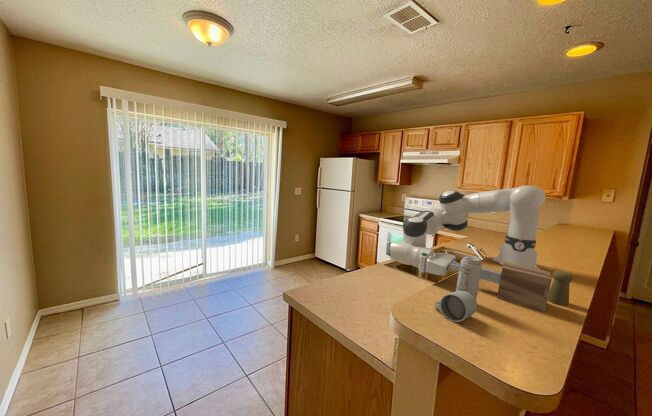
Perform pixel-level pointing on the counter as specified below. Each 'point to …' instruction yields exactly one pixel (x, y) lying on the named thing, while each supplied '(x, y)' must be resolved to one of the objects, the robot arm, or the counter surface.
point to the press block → (524, 286)
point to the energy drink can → (469, 275)
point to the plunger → (490, 275)
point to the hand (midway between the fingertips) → (463, 268)
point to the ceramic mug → (457, 305)
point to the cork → (560, 288)
